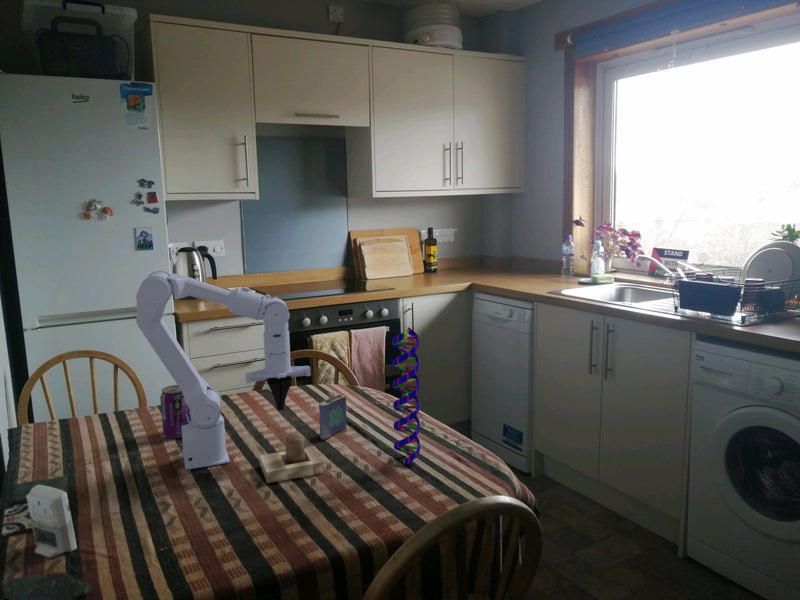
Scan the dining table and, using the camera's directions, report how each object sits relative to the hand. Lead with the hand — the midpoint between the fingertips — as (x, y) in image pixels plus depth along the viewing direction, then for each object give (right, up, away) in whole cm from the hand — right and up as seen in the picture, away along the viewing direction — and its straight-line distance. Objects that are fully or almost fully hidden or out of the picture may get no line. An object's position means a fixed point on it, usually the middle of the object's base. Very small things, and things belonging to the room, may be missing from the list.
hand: (279, 408), depth 147 cm
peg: (+5, -12, -7) cm, 15 cm away
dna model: (+29, -11, -4) cm, 32 cm away
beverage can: (-28, -9, +13) cm, 32 cm away
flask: (+11, -9, +12) cm, 19 cm away
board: (+4, -12, -8) cm, 15 cm away
